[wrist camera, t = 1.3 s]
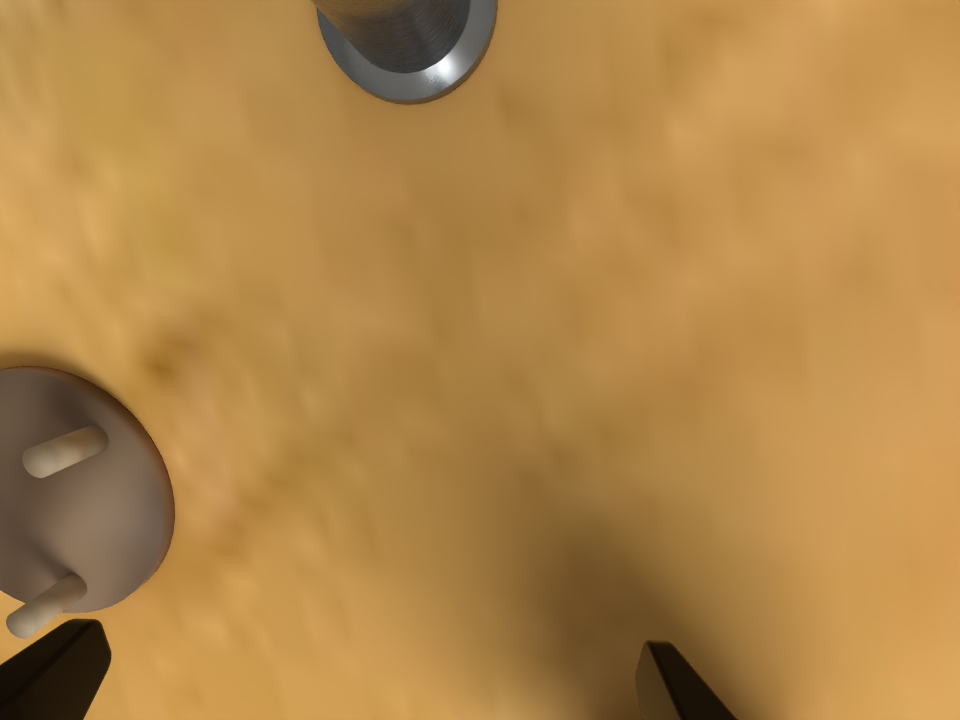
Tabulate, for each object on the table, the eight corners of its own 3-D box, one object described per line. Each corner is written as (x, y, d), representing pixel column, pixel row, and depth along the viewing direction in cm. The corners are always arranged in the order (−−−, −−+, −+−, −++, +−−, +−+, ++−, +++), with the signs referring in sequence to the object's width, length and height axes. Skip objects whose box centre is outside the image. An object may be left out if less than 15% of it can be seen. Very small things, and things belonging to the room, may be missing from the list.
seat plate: (194, 418, 21) (132, 447, 18) (154, 634, 24) (93, 694, 21) (-51, 330, 22) (-153, 344, 18) (-63, 551, 24) (-154, 597, 21)
